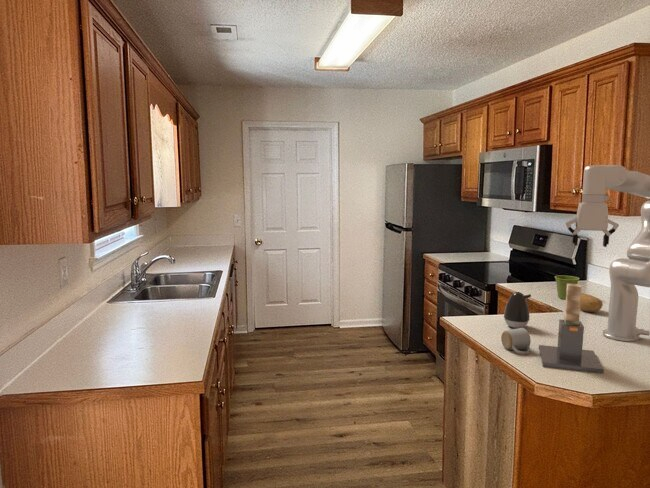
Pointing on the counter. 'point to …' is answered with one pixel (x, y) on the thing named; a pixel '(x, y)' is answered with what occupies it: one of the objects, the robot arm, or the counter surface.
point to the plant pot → (564, 284)
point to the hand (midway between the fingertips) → (589, 245)
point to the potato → (590, 303)
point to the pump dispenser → (517, 310)
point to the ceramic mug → (516, 340)
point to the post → (572, 304)
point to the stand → (570, 351)
